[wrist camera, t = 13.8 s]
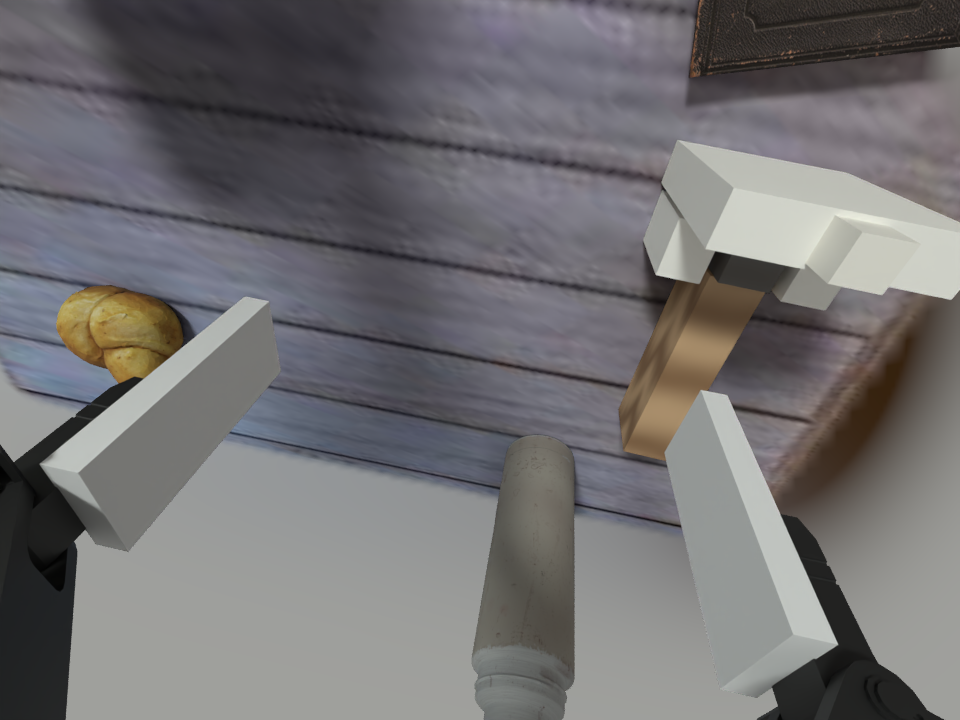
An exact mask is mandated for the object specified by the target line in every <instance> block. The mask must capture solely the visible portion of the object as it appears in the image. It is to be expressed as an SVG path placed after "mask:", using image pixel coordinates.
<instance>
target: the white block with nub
mask: <svg viewBox="0 0 960 720" xmlns="http://www.w3.org/2000/svg"><path fill="white" fill-rule="evenodd" d="M661 183H662V185H663V186H664V188H665V189H666V191H663V190H662V192H661V194H660V197H659V199H658V202H657V205H656V207H655V210H654V213H653V215H652V218H651V221H650V223H649V226H648V229H647V231H646V234H645V236H644V239H643V242H644V244H645V247H646V250H647V253H648V255H649V258H650V261H651V263H652V266H653V269H654V272H655V274H656V275H658V276H663V277H667V278H672V279H677V280H682V281H686V282H691V283H696V284H700V282H701V280H702V278H703V276H704V274H705V271H706V269H707V267H708V265H709V263H710V261H711V259H712V257H713V255H714V253H715V251H718V252H722V253H727V254H732V255H737V256H742V257H747V258H751V259H756V260H761V261H766V262H771V263H776V264H780V265H785V266H786V267H785V268H784V270H783V272H782V273H781V275H780V277H779V278H778V280H777V282H776V283H775V285H774V287H773V288H772V290H771V291H772V292H773V293H774V294H775V296H776V297H777V298H778V299H779V300H780V301H781V302H786V303H790V304H795V305H800V306H805V307H809V308H814V309H819V310H824V311H825V310H826V309H827V308H828V306H829V305H830V303H831V302H832V300H833V299H834V297H835V296H836V295H837V293H838V292H839V290H840V289H841V287H846V288H850V289H855V290H860V291H865V292H870V293H874V294H879V295H883V294H884V292H885V291H886V290H887V288H888V287H892V288H897V289H901V290H906V291H911V292H916V293H921V294H926V295H930V296H935V297H940V298H945V299H950V300H951V299H952V298H953V297H954V296H955V294H957V292H958V291H959V290H960V222H957V221H955V220H953V219H951V218H948V217H946V216H944V215H942V214H939V213H937V212H935V211H932V210H930V209H928V208H926V207H923V206H921V205H919V204H917V203H914V202H912V201H910V200H908V199H905V198H903V197H901V196H898V195H896V194H894V193H892V192H889V191H887V190H885V189H883V188H880V187H878V186H876V185H874V184H871V183H869V182H867V181H864V180H862V179H860V178H858V177H855V176H853V175H851V174H849V173H845V172H840V171H835V170H830V169H824V168H819V167H814V166H809V165H804V164H799V163H794V162H788V161H783V160H778V159H773V158H768V157H763V156H757V155H752V154H747V153H742V152H737V151H732V150H727V149H721V148H716V147H711V146H706V145H701V144H696V143H691V142H685V141H680V140H677V142H676V145H675V147H674V150H673V153H672V155H671V158H670V161H669V163H668V166H667V169H666V171H665V174H664V177H663V179H662V182H661Z"/></svg>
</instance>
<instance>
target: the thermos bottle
mask: <svg viewBox="0 0 960 720" xmlns="http://www.w3.org/2000/svg"><path fill="white" fill-rule="evenodd" d="M472 666H473V668H474V670H475V671H476V672H477V674H478V680H477V681H476V683H475V690H476V693H475V700H476V702H477V704H478V705H479V707H480V708H481V709H482V710H483V711H484V712H485V714H484V720H562V719H563V717H564V711H565V710H564V709H565V703H566V699H567V696H566V692H565V691H566V690H568V689H569V688H570V687H571V686H572V684H573V682H574V457H573V455H572V452H571V451H570V449H569V448H568V447H567V446H566V445H565V444H564V443H562V442H561V441H559V440H557V439H555V438H552V437H549V436H544V435H529V436H525V437H522V438H519V439H518V440H516V441H514V442H513V443H512V444H511V445H510V447H509V448H508V450H507V453H506V458H505V463H504V469H503V476H502V482H501V488H500V493H499V499H498V505H497V511H496V518H495V525H494V532H493V537H492V543H491V548H490V554H489V559H488V564H487V571H486V576H485V583H484V588H483V594H482V600H481V606H480V612H479V618H478V624H477V630H476V636H475V642H474V648H473V654H472Z"/></svg>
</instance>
